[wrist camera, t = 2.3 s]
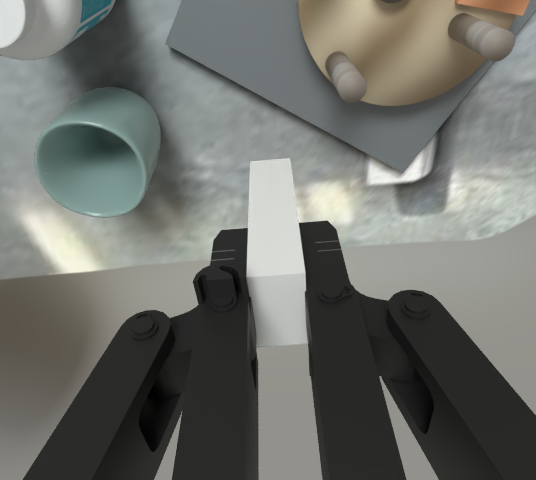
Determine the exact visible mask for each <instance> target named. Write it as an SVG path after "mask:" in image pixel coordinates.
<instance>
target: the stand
mask: <svg viewBox="0 0 536 480" xmlns="http://www.w3.org/2000/svg"><path fill="white" fill-rule="evenodd" d="M535 11H536V0H530V1H529V4H528V6H527V8H526V10H525V12H524V14H523V16H521V15H516V16H515V19H514V21H513V23H512V24H511V26H510V28H509V29H508V31H510V32H511V33H512V34H513V35H514V36H515V35H516V34H517V33H518V31H519V30H520V29H521V28H522V26H523V25H524V24H525V23H526V22H527V20H528V19H529V18H530V17H531V15H532V14H533V13H534V12H535ZM165 44H166V45H168V46H170V47H172V48H173V49H175V50H177V51H179V52H181V53H183V54H185V55H186V56H188V57H190V58H192V59H194V60H196V61H197V62H199V63H201V64H203V65H205V66H207V67H208V68H210V69H212V70H214V71H216V72H218V73H220V74H221V75H223V76H225V77H227V78H229V79H231V80H232V81H234V82H236V83H238V84H240V85H242V86H243V87H245V88H247V89H249V90H251V91H253V92H254V93H256V94H258V95H260V96H262V97H264V98H266V99H267V100H269V101H271V102H273V103H275V104H277V105H278V106H280V107H282V108H284V109H286V110H288V111H289V112H291V113H293V114H295V115H297V116H299V117H301V118H302V119H304V120H306V121H308V122H310V123H312V124H313V125H315V126H317V127H319V128H321V129H323V130H324V131H326V132H328V133H330V134H332V135H334V136H336V137H337V138H339V139H341V140H343V141H345V142H347V143H348V144H350V145H352V146H354V147H356V148H358V149H359V150H361V151H363V152H365V153H367V154H369V155H370V156H372V157H374V158H376V159H378V160H380V161H382V162H383V163H385V164H387V165H389V166H391V167H393V168H394V169H396V170H398V171H400V172H402V173H403V172H404V170H405V169H406V168H407V167H408V166H409V164H410V163H411V162H412V161H413V159H414V158H415V157H416V156H417V155H418V153H419V152H420V151H421V150H422V148H423V147H424V146H425V145H426V144H427V142H428V141H429V140H430V139H431V138H432V136H433V135H434V134H435V133H436V131H437V130H438V129H439V128H440V127H441V125H442V124H443V123H444V122H445V120H446V119H447V118H448V117H449V116H450V114H451V113H452V112H453V111H454V109H455V108H456V107H457V106H458V105H459V103H460V102H461V101H462V100H463V98H464V97H465V96H466V95H467V94H468V92H469V91H470V90H471V89H472V87H473V86H474V85H475V84H476V83H477V81H478V80H479V79H480V78H481V76H482V75H483V74H484V73H485V72H486V70H487V69H488V68H489V67H490V65H491V64H492V63H493V62H494V61H491V60H489V59H486V60H485V62H484V63H483V64H482V65H481V66H480V67H478V68H477V69H476V70H475V71H474V72H473V73H472V74H471V75H470V76H468V77H467V78H466V79H464V80H463V81H462V82H460V83H459V84H457V85H456V86H454V87H452V88H451V89H449V90H448V91H446V92H444V93H442V94H440V95H437V96H435V97H433V98H430V99H427V100H425V101H422V102H418V103H413V104H409V105H400V106H382V105H376V104H370V103H367V102H364V101H361V100H359V101H357V102H354V103H349V102H346V101H344V100H343V99H342V98H341V96H340V94H339V93H338V91H337V89H336V87H335V85H334V84H333V83H332V82H331V81H330V80H329V79H327V77H326V76H325V75H324V74H323V72H322V71H321V70H320V69H319V67H318V65H317V64H316V62H315V60H314V59H313V57H312V55H311V53H310V51H309V49H308V47H307V44H306V42H305V40H304V37H303V34H302V31H301V27H300V23H299V17H298V11H297V0H182V2H181V4H180V7H179V10H178V12H177V15H176V17H175V20H174V23H173V25H172V28H171V30H170V33H169V36H168V38H167V41H166V43H165Z"/></svg>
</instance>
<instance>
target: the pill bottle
mask: <svg viewBox="0 0 536 480" xmlns="http://www.w3.org/2000/svg"><path fill="white" fill-rule="evenodd" d="M115 1H116V0H0V55H2V56H4V57H8V58H12V59H17V60H37V59H42V58H46V57H48V56H51V55H53V54H55V53H57V52H58V51H60V50H61V49H63V48H64V47H65V46H67V45H68V44H70V43H71V42H72V41H74V40H75V39H76V38H78V37H79V36H81V35H82V34H84V33H85V32H86V31H88V30H89V29H91V28H92V27H94V26H95V25H96V24H98V23H99V22H100V21H102V20H103V19H104V18H105V17H106V16H107V15H108V14H109V12H110V11H111V9H112V8H113V5H114V3H115Z"/></svg>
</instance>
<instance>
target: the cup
mask: <svg viewBox="0 0 536 480" xmlns="http://www.w3.org/2000/svg"><path fill="white" fill-rule="evenodd" d="M160 145H161V129H160V124H159V120H158V117H157V115H156V113H155V111H154V109H153V108H152V106H151V105H150V104H149V103H148V102H147V101H146V100H145V99H144V98H143V97H141V96H140V95H138V94H137V93H134V92H132V91H130V90H127V89H123V88H118V87H100V88H97V89H93V90H89V91H87V92H85V93H84V94H82V95H80V96H78V97H77V98H75V99H74V100H73V101H72V102H70V103H69V104H68V105H67V106H66V107H65V108H64V109H63V110H62V111H61V112H60V113H59V114H58V115H57V116H56V117H55V118H54V119H53V120H52V121H51V122H50V124H49V125H48V126H47V127H46V128H45V129H44V130H43V131H42V133H41V135H40V137H39V139H38V141H37V144H36V148H35V153H34V155H35V167H36V171H37V175H38V177H39V180H40V182H41V184H42V185H43V187H44V189H45V190H46V192H47V193H48V194H49V195H50V196H51V197H52V198H53V199H54V200H55V201H56V202H58V203H59V204H61V205H62V206H63V207H65V208H67V209H69V210H71V211H74V212H77V213H80V214H82V215H87V216H92V217H103V218H105V217H116V216H120V215H124V214H126V213H128V212H130V211H132V210H133V209H134V208H135V207H137V206H138V205H139V204H140V202H141V201H142V199H143V198H144V196H145V194H146V192H147V189H148V187H149V184H150V181H151V179H152V176H153V173H154V170H155V168H156V164H157V161H158V157H159V152H160Z"/></svg>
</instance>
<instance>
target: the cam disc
mask: <svg viewBox="0 0 536 480" xmlns="http://www.w3.org/2000/svg"><path fill="white" fill-rule="evenodd" d="M529 1H530V0H297V11H298V17H299V23H300V27H301V31H302V34H303V37H304V40H305V42H306V44H307V47H308V49H309V51H310V53H311V55H312V57H313V59H314V60H315V62H316V64H317V65H318V67H319V69H320V70H321V71H322V72H323V74H324V75H325V76H326V77H327V79H329V80H330V81H331V82H332V83H333V84H334V85H335V87H336V89H337V91H338V93H339V94H340V96H341V98H342V99H343V100H344V101H346V102H349V103H354V102H357V101H359V100H361V101H364V102H367V103H370V104H376V105H382V106H400V105H409V104H413V103H418V102H422V101H425V100H427V99H430V98H433V97H435V96H437V95H440V94H442V93H444V92H446V91H448V90H449V89H451V88H452V87H454V86H456V85H457V84H459V83H460V82H462V81H463V80H464V79H466V78H467V77H468V76H470V75H471V74H472V73H473V72H474V71H475V70H476V69H477V68H478V67H480V66H481V65H482V64H483V63H484V62H485V60H486V59H489V60H491V61H499V60H502V59H504V58H505V57H506V56H508V55H509V53H510V52H511V51H512V49H513V47H514V43H515V38H514V35H513V34H512V33H511V32H510V31H508V29H509V28H510V26H511V24H512V23H513V21H514V19H515V16H516V15H521V16H523V14H524V12H525V10H526V8H527V6H528V4H529Z"/></svg>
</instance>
